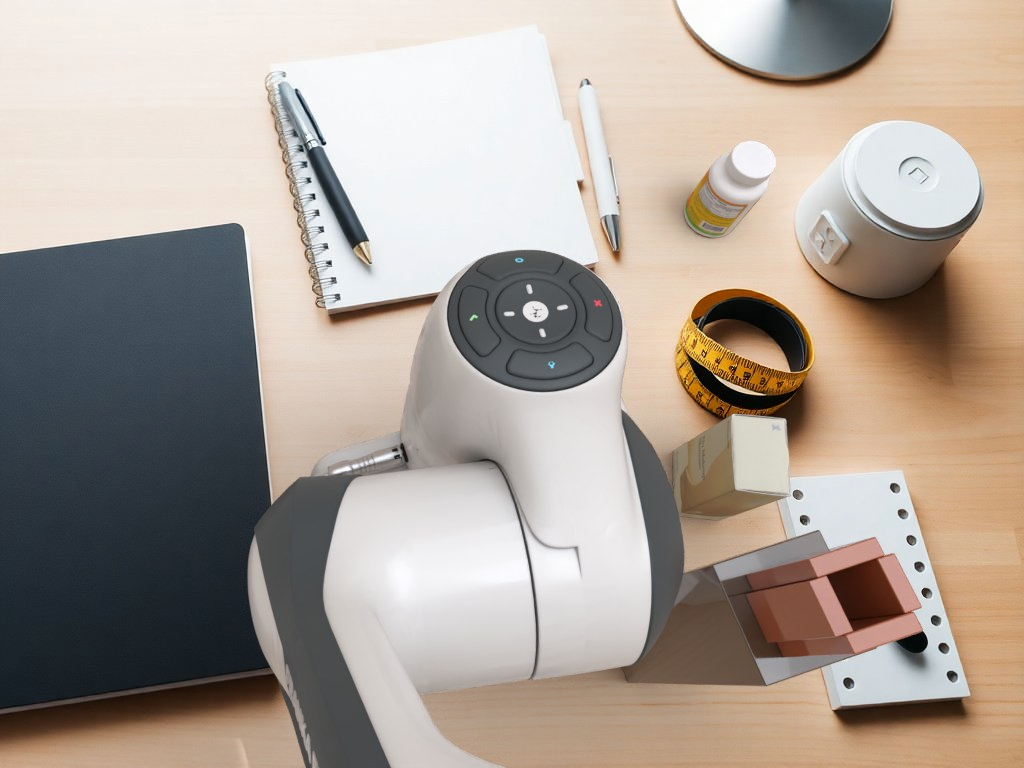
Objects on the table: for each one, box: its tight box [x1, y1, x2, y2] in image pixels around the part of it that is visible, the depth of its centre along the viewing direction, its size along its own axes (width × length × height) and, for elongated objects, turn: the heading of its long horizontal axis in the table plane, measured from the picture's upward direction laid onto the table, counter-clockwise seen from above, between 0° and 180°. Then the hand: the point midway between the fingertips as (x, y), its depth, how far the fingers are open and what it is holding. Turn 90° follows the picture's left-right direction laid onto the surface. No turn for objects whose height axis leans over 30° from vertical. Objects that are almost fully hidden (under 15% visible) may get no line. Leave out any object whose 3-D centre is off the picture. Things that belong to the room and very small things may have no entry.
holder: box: [621, 529, 924, 687], centre depth 55 cm, size 7×7×31 cm
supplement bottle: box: [683, 140, 777, 239], centre depth 79 cm, size 5×5×10 cm
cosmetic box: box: [672, 413, 792, 521], centre depth 68 cm, size 6×4×12 cm
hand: (450, 483), depth 61 cm, fingers open, 8 cm apart
